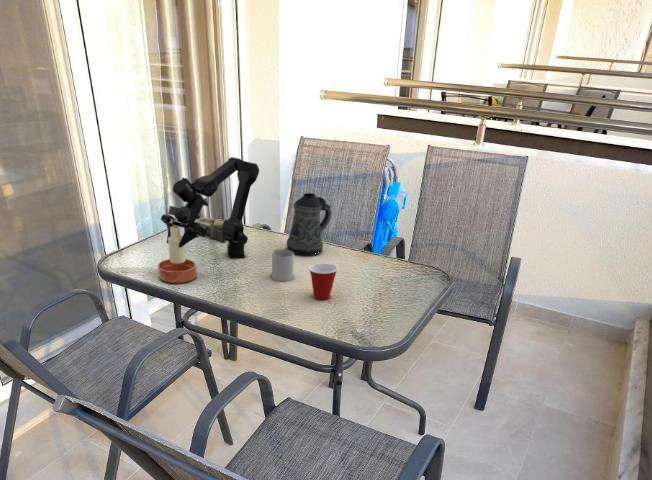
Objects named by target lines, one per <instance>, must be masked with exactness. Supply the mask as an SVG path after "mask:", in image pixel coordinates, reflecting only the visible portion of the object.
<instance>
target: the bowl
mask: <svg viewBox="0 0 652 480" xmlns="http://www.w3.org/2000/svg"><path fill="white" fill-rule="evenodd" d="M196 263H197V262H195V261H193V260H191V259H189V258H185V262H183V263H179V264H175V263H171V262H170V258H167V259H164V260H162V261H160V262H158V264H157V273H158V274H157V275H158V279H160V280H161V281H164V282H166V283H168V284H184V283H185V284H186V283H188V282H191V281H192V280H194V279H195V278H197V275H198V273H197V264H196Z"/></svg>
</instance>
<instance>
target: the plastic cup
mask: <svg viewBox="0 0 652 480" xmlns="http://www.w3.org/2000/svg"><path fill="white" fill-rule="evenodd" d="M308 270H309V273H310V277H311V285H312V292H313V297H314V299H316V300H317V301H327V300H329V299H330V297H331V293H332V290H333V286H334V283H335V277H336V274H337V272H338V270H339V267H338V266H337V265H336V264H333V263H329V262H328V263H326V262H321V263H320V262H317V263H313V264H311V265H309V266H308Z"/></svg>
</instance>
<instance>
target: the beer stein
mask: <svg viewBox="0 0 652 480" xmlns="http://www.w3.org/2000/svg"><path fill="white" fill-rule="evenodd" d="M293 209H294V213H293V218H292V223H291V228H290V232H289V235H288V238H287V240H286V247H287V248H286V250H289V251H292V252H293V253H294V256H299V257H315V256H316V257H317V256H318V255H320V254H321V253H322V250H323V247H324V243H323V240H322V233H323V231H325V229H326V228H327V226H328V225H329V223H330V221H331V219H332V210H331V206H330V205H329V204H327V203H326V199H324V198H323V197H321V196H316V194H315V193H309V192H308V193H303V196H301V197H300V198H299V199H297V200H296V201H295V202H293ZM321 211H324V212H325V213H324V217H323V219H322V221H321V216H320V213H321ZM318 252H319V253H318ZM315 253H316V254H315Z"/></svg>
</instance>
